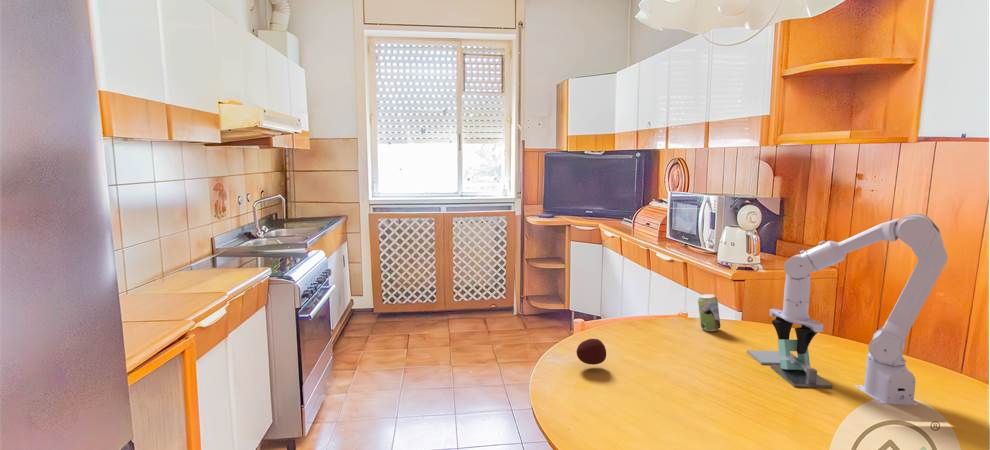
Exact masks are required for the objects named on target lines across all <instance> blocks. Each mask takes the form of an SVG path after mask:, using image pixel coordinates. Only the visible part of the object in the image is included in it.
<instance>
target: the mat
mask: <svg viewBox="0 0 990 450" xmlns="http://www.w3.org/2000/svg"><path fill="white" fill-rule="evenodd" d="M746 353H747V354H748V355H750V356H751V357H752V358H754V360H756V361H757V362H758V363H759V364H760V365H767V366H768V365H770V366H771V365H781V364H780V360H789V359H788V358H786V356H780V355H779V350H757V349H755V350H753V349H752V350H750V349H748V350H746ZM790 353H791V354H793V352H792V351H790ZM793 355H794V356H796V355H795V354H793ZM796 357H797V358H798V356H796ZM791 363H792V365H796V364H795V363H793V362H792V361H791Z"/></svg>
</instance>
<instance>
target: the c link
mask: <svg viewBox="0 0 990 450" xmlns="http://www.w3.org/2000/svg"><path fill="white" fill-rule="evenodd" d="M777 344H778V351H779V355H780V356H791V355H790V352H796V357H798V358H799V359H800V360H801V361H803V362H804V363H806V364H807V365H808V366H810V367H811V362H810V353H809V347H808V348H807V351H806V353H805V354H798V353H797V339H789V340H783V339H778V338H777ZM780 364H781V369H795V370H803V369H801V368H800V367H799V366H797V365H792V363H791V360H780Z"/></svg>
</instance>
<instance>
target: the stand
mask: <svg viewBox="0 0 990 450" xmlns="http://www.w3.org/2000/svg"><path fill="white" fill-rule="evenodd" d="M791 353H792V352H791ZM791 353H790V355H791V356H786V358H788V359H789V360H791V361H792V362H793V363H795V364H796V365H797V366H799V367H800V368H801V369H803V370H795V369H781V365H770V368H771V370H773V372H775V373H777V374H778V375H779V376H780V377H781V378H782V379H784V380H785V381H786V382H788V383H789V384H790V385H791V386H792V387H794V388H811V389H813V388H815V389H833V384H831V383H830V382H829V381H828V380H826V379H824V378H823V377H822V376H820V375H819V374H818V369H815V368H812V367H811V365H810V366H808V365H807V364H806V363H804V362H803V361H801V360H800V359H799V358H797V357H798V356H797V355H795V354H794V355H795V356H794V355H793V353H792V354H791Z"/></svg>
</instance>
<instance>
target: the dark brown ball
mask: <svg viewBox="0 0 990 450" xmlns="http://www.w3.org/2000/svg"><path fill="white" fill-rule="evenodd" d="M576 355H577V358H578V360H579V361H580V362H582V363H584V364H586V365H598V364H602V363H603V362H604V361H605V360H606V359H607V349H606V346H605V344H604V343H603V341H601V340H600V339H597V338H589V339H586V340H583V341H581V343H579V344H578V345H577V348H576Z"/></svg>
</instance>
